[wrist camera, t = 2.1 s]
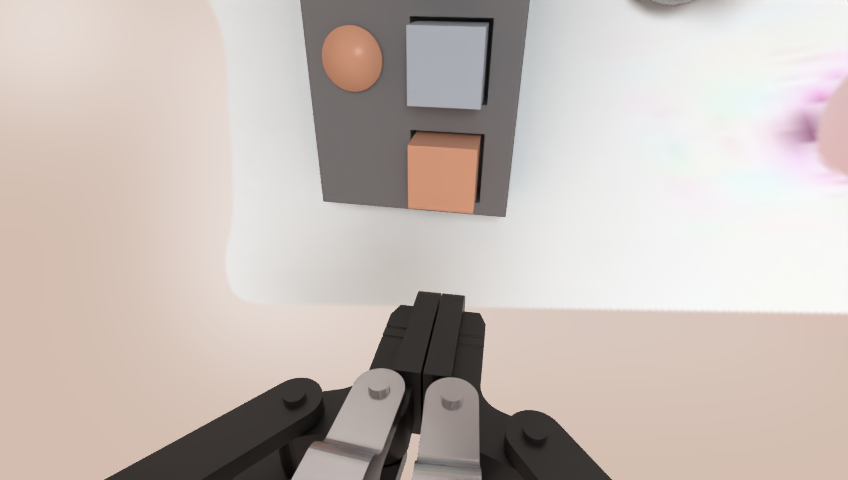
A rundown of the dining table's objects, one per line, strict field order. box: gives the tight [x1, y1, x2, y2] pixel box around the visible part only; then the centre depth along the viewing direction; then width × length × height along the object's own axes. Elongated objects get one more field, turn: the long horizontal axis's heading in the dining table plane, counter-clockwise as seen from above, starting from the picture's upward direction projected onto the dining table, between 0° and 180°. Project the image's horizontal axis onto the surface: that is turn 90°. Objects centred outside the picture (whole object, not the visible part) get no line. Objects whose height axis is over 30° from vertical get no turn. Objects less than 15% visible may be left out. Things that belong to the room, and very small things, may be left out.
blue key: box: [406, 21, 489, 110], centre depth 27 cm, size 4×4×3 cm
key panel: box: [300, 0, 530, 217], centre depth 30 cm, size 21×14×4 cm, turn 179°
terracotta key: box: [408, 131, 481, 214], centre depth 31 cm, size 4×4×3 cm
